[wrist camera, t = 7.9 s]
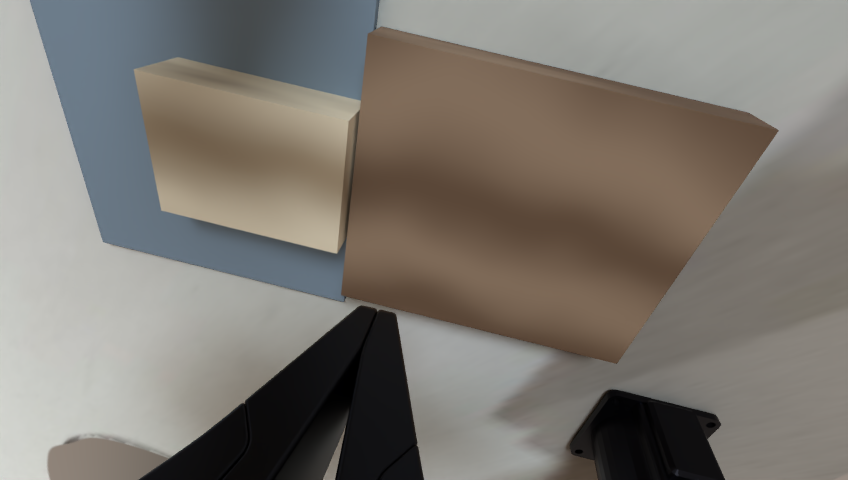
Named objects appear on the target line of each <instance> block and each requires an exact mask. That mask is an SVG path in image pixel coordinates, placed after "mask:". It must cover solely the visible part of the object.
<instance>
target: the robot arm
mask: <svg viewBox="0 0 848 480" xmlns="http://www.w3.org/2000/svg"><path fill="white" fill-rule="evenodd" d="M345 426H346V428H345ZM720 426H721V423H720V421H719V419H718V417H717V416H716V415H714V414H711V413H707V412H703V411H699V410H695V409H691V408H687V407H683V406H679V405H675V404H671V403H667V402H663V401H659V400H655V399H651V398H647V397H643V396H639V395H635V394H631V393H627V392H623V391H619V390H612V391H609V392H608V393H607V394H606V395H605V396H604V398H603V399H602V401H601V402H600V403H599V405H598V406H597V408H596V409H595V410H594V412H593V413H592V415H591V416H590V417H589V419H588V420H587V422H586V423H585V424H584V426H583V427H582V429H581V430H580V431H579V433H578V434H577V435H576V437H575V438H574V440H573V441H572V442H571V444H570V450H571V453H572V454H573V455H575V456H579V457H583V458H587V459H591V460H594V461H595V466H596V471H597V476H598V480H725V478H724V476H723V474H722V471H721V469H720V467H719V465H718V462H717V460H716V458H715V456H714V453H713V451H712V449H711V447H710V444H709V442H708V440H707V439H708V438H709V437H710V436H711V435H712V434H713V433H714V432H715V431H716V430H717V429H718V428H719V427H720ZM344 428H345V433H344V438H343V443H342V448H341V453H340V458H339V463H338V468H337V473H336V478H335V480H424V477H423V472H422V467H421V461H420V455H419V449H418V446H417V438H416V432H415V426H414V420H413V414H412V408H411V402H410V396H409V390H408V384H407V377H406V371H405V365H404V359H403V353H402V347H401V341H400V335H399V329H398V323H397V317H396V314H395V313H393V312H388V311H384V310H379V311H378V312H377V310H376V309H375V308H371V307H367V306H359V307H357V308H356V309H355V310H354V311H353V312H351V313H350V314H349V315H348V316H347V317H345V318H344V319H343V320H342V321H341V322H339V323H338V324H337V325H336V326H334V327H333V328H332V329H331V330H330V331H328V332H327V333H326V334H325V335H324V336H322V337H321V338H320V339H319V340H318V341H316V342H315V343H314V344H313V345H312V346H310V347H309V348H308V349H307V350H306V351H304V352H303V353H302V354H301V355H300V356H298V357H297V358H296V359H295V360H294V361H292V362H291V363H290V364H289V365H288V366H286V367H285V368H284V369H283V370H282V371H280V372H279V373H278V374H277V375H275V376H274V377H273V378H272V379H271V380H269V381H268V382H267V383H266V384H265V385H263V386H262V387H261V388H260V389H259V390H257V391H256V392H255V393H254V394H253V395H251V396H250V397H249V398H248V399H247V400H246V401H245V404H244V403H242V404H240V405H239V406H238V407H237V408H235V409H234V410H233V411H232V412H231V413H230V414H228V415H227V416H226V417H225V418H223V419H222V420H221V421H220V422H218V423H217V424H216V425H214V426H213V427H212V428H211V429H209V430H208V431H207V432H206V433H204V434H203V435H202V436H200V437H199V438H198V439H196V440H195V441H193V442H192V443H191V444H189V445H188V446H186V447H185V448H184V449H182V450H181V451H179V452H178V453H176V454H175V455H174V456H172V457H171V458H169V459H168V460H166V461H165V462H163V463H162V464H161V465H159V466H158V467H156V468H155V469H153V470H152V471H151V472H149V473H147V474H146V475H144V476H143V477H142V478H140V479H139V480H323V477H324V475H325V473H326V470H327V468H328V466H329V463H330V461H331V459H332V456H333V454H334V452H335V449H336V447H337V445H338V442H339V440H340V438H341V435H342V433H343V431H344Z"/></svg>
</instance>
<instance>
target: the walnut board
mask: <svg viewBox="0 0 848 480" xmlns="http://www.w3.org/2000/svg"><path fill="white" fill-rule="evenodd" d="M778 131H779V130H777V129H776V128H774V127H772V126H770V125H769V124H767V123H765V122H764V121H762V120H760V119H758V118H757V117H755V116H753V115H751V114H750V113H747V112H743V111H738V110H734V109H730V108H726V107H721V106H717V105H713V104H709V103H704V102H700V101H696V100H692V99H687V98H683V97H679V96H675V95H670V94H666V93H662V92H658V91H653V90H649V89H645V88H641V87H636V86H632V85H628V84H624V83H619V82H615V81H611V80H607V79H602V78H598V77H594V76H590V75H585V74H581V73H577V72H573V71H568V70H564V69H560V68H556V67H551V66H547V65H543V64H539V63H534V62H530V61H526V60H522V59H517V58H513V57H509V56H505V55H500V54H496V53H492V52H487V51H483V50H479V49H475V48H470V47H466V46H462V45H458V44H453V43H449V42H445V41H441V40H436V39H432V38H428V37H424V36H419V35H415V34H411V33H407V32H402V31H398V30H394V29H390V28H385V27H380V28H378V29H376V30H374V31H372V32H370V33H368V36H367V46H366V55H365V65H364V75H363V85H362V95H361V104H360V114H359V124H358V134H357V143H356V153H355V163H354V173H353V182H352V192H351V202H350V212H349V222H348V231H347V241H346V251H345V261H344V270H343V280H342V290H341V295H343V296H347V297H351V298H355V299H359V300H363V301H367V302H371V303H375V304H379V305H383V306H387V307H391V308H395V309H399V310H403V311H407V312H411V313H415V314H419V315H423V316H427V317H431V318H435V319H439V320H443V321H447V322H451V323H455V324H459V325H463V326H467V327H471V328H475V329H479V330H483V331H487V332H491V333H495V334H499V335H503V336H507V337H511V338H515V339H519V340H523V341H528V342H532V343H536V344H540V345H544V346H548V347H552V348H556V349H560V350H564V351H568V352H572V353H576V354H580V355H584V356H588V357H592V358H596V359H600V360H604V361H608V362H612V363H616V364H617V363H618V361H619V360H620V358H621V357H622V356H623V354H624V353H625V351H626V350H627V348H628V347H629V345H630V344H631V343H632V341H633V340H634V338H635V337H636V335H637V334H638V333H639V331H640V330H641V328H642V327H643V325H644V324H645V322H646V321H647V320H648V318H649V317H650V315H651V314H652V312H653V311H654V309H655V308H656V307H657V305H658V304H659V302H660V301H661V299H662V298H663V296H664V295H665V294H666V292H667V291H668V289H669V288H670V286H671V285H672V284H673V282H674V281H675V279H676V278H677V276H678V275H679V273H680V272H681V271H682V269H683V268H684V266H685V265H686V263H687V262H688V260H689V259H690V258H691V256H692V255H693V253H694V252H695V250H696V249H697V247H698V246H699V245H700V243H701V242H702V240H703V239H704V237H705V236H706V235H707V233H708V232H709V230H710V229H711V227H712V226H713V224H714V223H715V222H716V220H717V219H718V217H719V216H720V214H721V213H722V211H723V210H724V209H725V207H726V206H727V204H728V203H729V201H730V200H731V198H732V197H733V196H734V194H735V193H736V191H737V190H738V188H739V187H740V186H741V184H742V183H743V181H744V180H745V178H746V177H747V175H748V174H749V173H750V171H751V170H752V168H753V167H754V165H755V164H756V162H757V161H758V160H759V158H760V157H761V155H762V154H763V152H764V151H765V150H766V148H767V147H768V145H769V144H770V142H771V141H772V139H773V138H774V137H775V135H776V134H777V132H778Z"/></svg>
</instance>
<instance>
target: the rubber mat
mask: <svg viewBox="0 0 848 480" xmlns="http://www.w3.org/2000/svg"><path fill="white" fill-rule="evenodd" d="M30 2H31V6H32V9H33V12H34V15H35V19H36V22H37V25H38V29H39V32H40V35H41V39H42V42H43V45H44V48H45V52H46V55H47V58H48V62H49V65H50V68H51V72H52V75H53V78H54V81H55V85H56V88H57V91H58V95H59V98H60V101H61V104H62V108H63V111H64V114H65V118H66V121H67V124H68V128H69V131H70V134H71V137H72V141H73V144H74V147H75V151H76V154H77V157H78V161H79V164H80V167H81V170H82V174H83V177H84V180H85V184H86V187H87V190H88V194H89V197H90V200H91V203H92V207H93V210H94V213H95V217H96V220H97V223H98V227H99V230H100V233H101V236H102V240H103V242H105V243H109V244H113V245H117V246H121V247H125V248H129V249H133V250H137V251H141V252H145V253H149V254H153V255H157V256H161V257H165V258H169V259H173V260H177V261H181V262H185V263H189V264H193V265H197V266H201V267H205V268H209V269H213V270H218V271H222V272H226V273H230V274H234V275H238V276H242V277H246V278H250V279H254V280H258V281H262V282H266V283H270V284H274V285H278V286H282V287H286V288H290V289H294V290H298V291H302V292H306V293H310V294H314V295H318V296H322V297H326V298H330V299H334V300H338V301H342V302H344V301H345V298H346V296H343V295H341V290H342V280H343V270H344V261H345V251H346V241H347V237H346V239H345V241H344V242H343V244H342V246H341V248H340V249H339V251H338V253H337V254H336V253H331V252H327V251H323V250H319V249H315V248H311V247H307V246H303V245H299V244H295V243H291V242H287V241H283V240H279V239H275V238H271V237H267V236H262V235H258V234H254V233H250V232H246V231H242V230H238V229H234V228H230V227H226V226H222V225H218V224H214V223H210V222H206V221H202V220H198V219H194V218H189V217H185V216H181V215H177V214H173V213H169V212H165V211H161V206H160V201H159V196H158V191H157V186H156V181H155V176H154V171H153V166H152V161H151V156H150V150H149V145H148V140H147V135H146V130H145V125H144V120H143V115H142V110H141V105H140V99H139V94H138V89H137V84H136V79H135V74H134V69H137V68H140V67H144V66H148V65H151V64H155V63H158V62H162V61H166V60H169V59H173V58H176V57H180V58H184V59H188V60H192V61H196V62H200V63H205V64H209V65H213V66H217V67H221V68H226V69H230V70H234V71H238V72H242V73H247V74H251V75H255V76H259V77H263V78H268V79H272V80H276V81H280V82H284V83H289V84H293V85H297V86H301V87H305V88H309V89H314V90H318V91H322V92H326V93H330V94H335V95H339V96H343V97H347V98H351V99H356V100H360V101H361V95H362V85H363V75H364V65H365V55H366V46H367V36H368V33H370V32H372V31H374V30H376V25H377V16H378V7H379V0H30Z"/></svg>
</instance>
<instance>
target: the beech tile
mask: <svg viewBox="0 0 848 480" xmlns="http://www.w3.org/2000/svg"><path fill="white" fill-rule="evenodd" d="M134 74H135V79H136V84H137V89H138V94H139V99H140V105H141V110H142V115H143V120H144V125H145V130H146V135H147V140H148V145H149V150H150V156H151V161H152V166H153V171H154V176H155V181H156V186H157V191H158V196H159V201H160V206H161V211H165V212H169V213H173V214H177V215H181V216H185V217H189V218H194V219H198V220H202V221H206V222H210V223H214V224H218V225H222V226H226V227H230V228H234V229H238V230H242V231H246V232H250V233H254V234H258V235H262V236H267V237H271V238H275V239H279V240H283V241H287V242H291V243H295V244H299V245H303V246H307V247H311V248H315V249H319V250H323V251H327V252H331V253H336V254H337V253H338V251H339V249H340V248H341V246H342V244H343V242H344V241H345V239H346V237H347V231H348V222H349V212H350V202H351V192H352V182H353V173H354V163H355V153H356V143H357V134H358V124H359V114H360V104H361V101H360V100H356V99H351V98H347V97H343V96H339V95H335V94H330V93H326V92H322V91H318V90H314V89H309V88H305V87H301V86H297V85H293V84H289V83H284V82H280V81H276V80H272V79H268V78H263V77H259V76H255V75H251V74H247V73H242V72H238V71H234V70H230V69H226V68H221V67H217V66H213V65H209V64H205V63H200V62H196V61H192V60H188V59H184V58H180V57H176V58H173V59H169V60H166V61H162V62H158V63H155V64H151V65H148V66H144V67H140V68H137V69H134Z"/></svg>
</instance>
